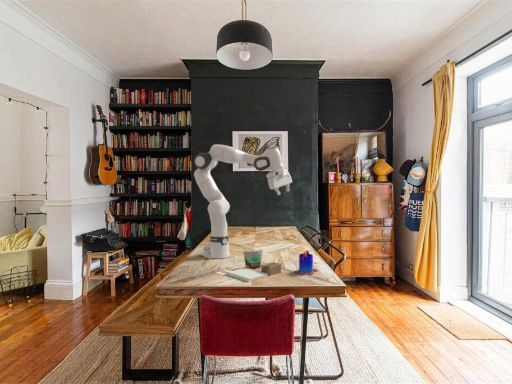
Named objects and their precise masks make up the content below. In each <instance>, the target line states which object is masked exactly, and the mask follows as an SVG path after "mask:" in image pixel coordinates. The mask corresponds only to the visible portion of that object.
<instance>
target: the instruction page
mask: <svg viewBox="0 0 512 384" xmlns="http://www.w3.org/2000/svg"><path fill="white" fill-rule="evenodd" d="M230 271H232V270H231V269H223V270H220V271H217V272H214V274H216V275H221V276H225V275H226V272H230Z"/></svg>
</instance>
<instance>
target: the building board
mask: <svg viewBox="0 0 512 384" xmlns="http://www.w3.org/2000/svg"><path fill="white" fill-rule="evenodd" d="M225 275H226V276H229V277H232V278H235V279H238V280H241V281H245V282H247V283H250V282H253V281H257V280H261V279H262V278H263V279H264V278H267V277H269V275H268V273H264V272H261V270H256V269H250V268H246V267H245V266H244V267H242V268H239V269H235V270H231V271H230V272H226V274H225Z"/></svg>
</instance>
